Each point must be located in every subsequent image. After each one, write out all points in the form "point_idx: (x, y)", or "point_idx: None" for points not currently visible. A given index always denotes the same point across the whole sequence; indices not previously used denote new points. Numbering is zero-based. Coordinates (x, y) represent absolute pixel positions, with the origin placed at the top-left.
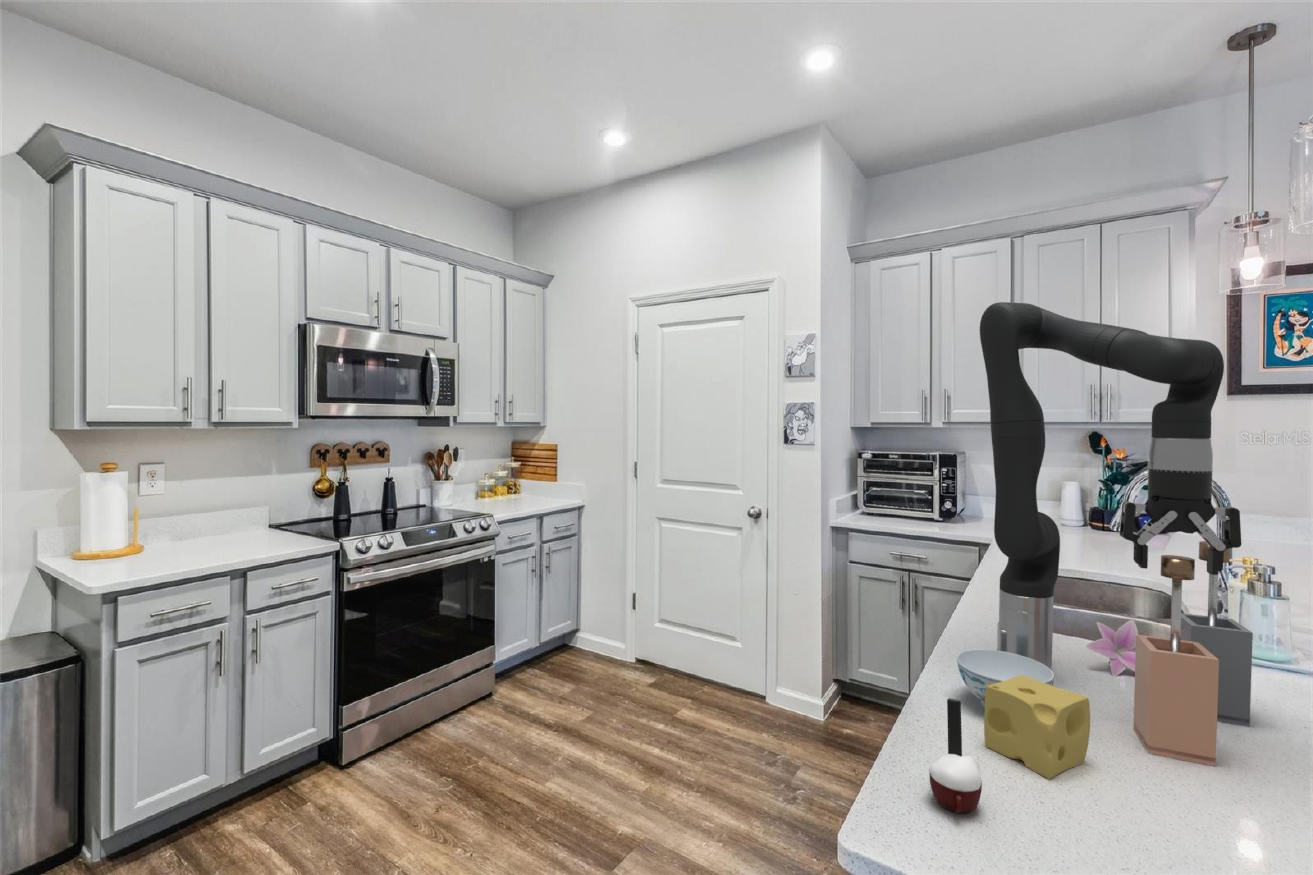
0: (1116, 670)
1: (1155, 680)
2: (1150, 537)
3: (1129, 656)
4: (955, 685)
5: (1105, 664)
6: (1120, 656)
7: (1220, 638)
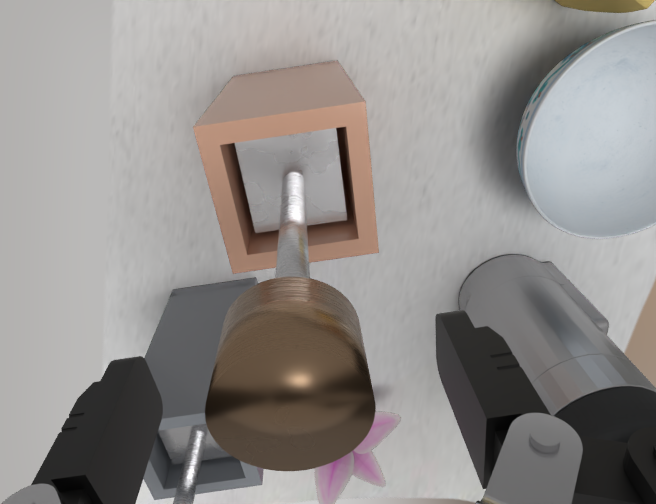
0: None
1: (342, 86)
2: (502, 482)
3: None
4: None
5: None
6: None
7: (183, 397)
